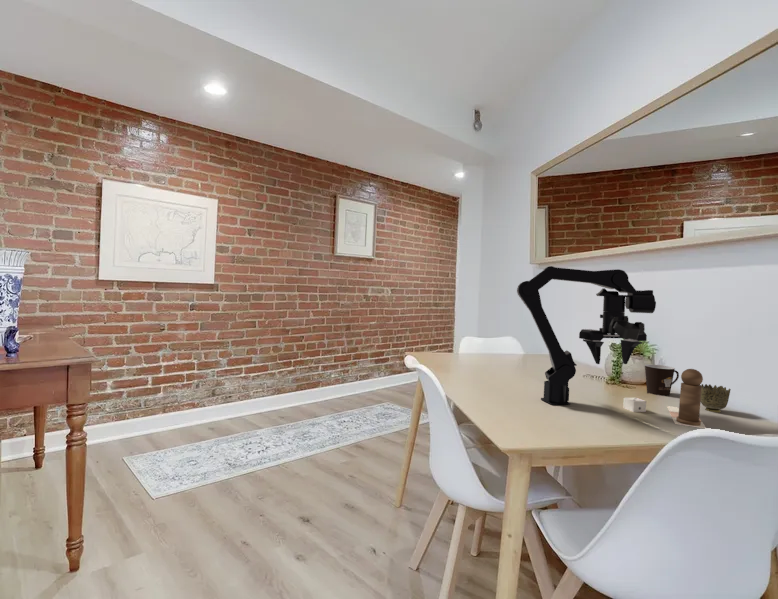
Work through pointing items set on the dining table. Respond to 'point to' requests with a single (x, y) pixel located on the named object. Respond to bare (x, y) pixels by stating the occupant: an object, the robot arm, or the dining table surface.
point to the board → (675, 414)
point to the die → (634, 404)
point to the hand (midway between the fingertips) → (611, 364)
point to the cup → (714, 397)
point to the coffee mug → (659, 379)
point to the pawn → (690, 397)
